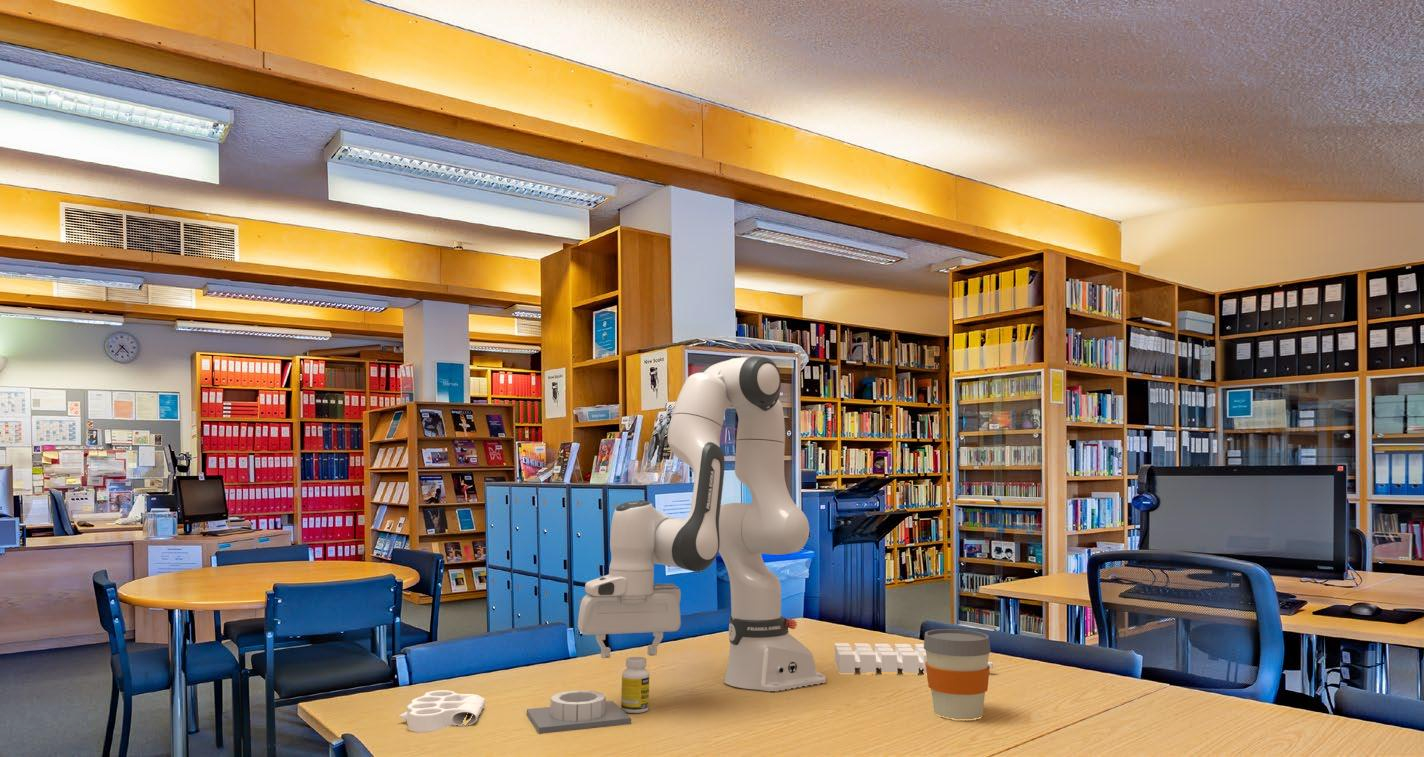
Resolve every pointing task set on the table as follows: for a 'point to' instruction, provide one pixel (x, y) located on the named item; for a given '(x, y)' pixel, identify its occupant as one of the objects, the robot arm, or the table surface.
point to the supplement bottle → (635, 686)
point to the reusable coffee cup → (957, 671)
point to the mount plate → (577, 712)
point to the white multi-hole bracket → (442, 710)
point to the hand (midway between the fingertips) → (629, 656)
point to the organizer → (881, 658)
